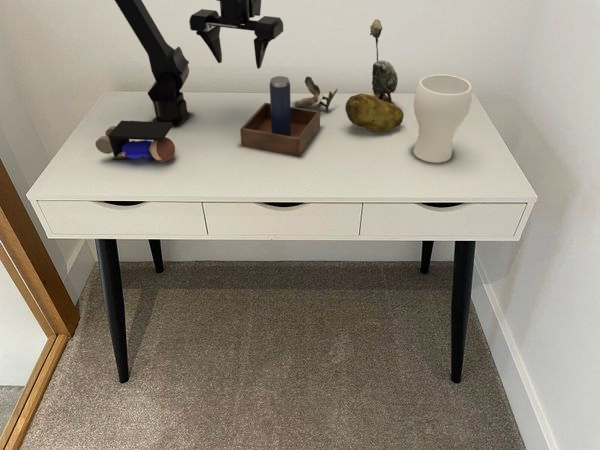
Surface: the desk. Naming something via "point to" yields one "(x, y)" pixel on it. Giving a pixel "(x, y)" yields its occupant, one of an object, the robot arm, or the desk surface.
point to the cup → (439, 114)
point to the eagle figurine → (315, 95)
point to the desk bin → (262, 137)
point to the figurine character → (133, 149)
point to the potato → (373, 113)
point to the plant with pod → (382, 72)
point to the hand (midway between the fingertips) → (239, 65)
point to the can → (280, 105)
